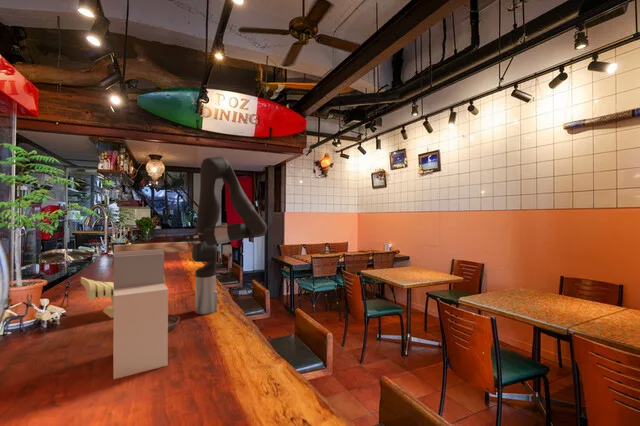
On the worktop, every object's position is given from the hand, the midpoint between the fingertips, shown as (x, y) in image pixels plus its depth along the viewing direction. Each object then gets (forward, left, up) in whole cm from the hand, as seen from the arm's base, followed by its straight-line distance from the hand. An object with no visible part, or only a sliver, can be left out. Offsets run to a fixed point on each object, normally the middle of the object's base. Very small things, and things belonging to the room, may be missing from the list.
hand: (178, 242), depth 123 cm
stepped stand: (+15, +21, -36) cm, 44 cm away
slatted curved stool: (+17, -35, -36) cm, 53 cm away
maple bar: (+11, +16, -2) cm, 19 cm away
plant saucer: (+7, -5, -36) cm, 37 cm away
